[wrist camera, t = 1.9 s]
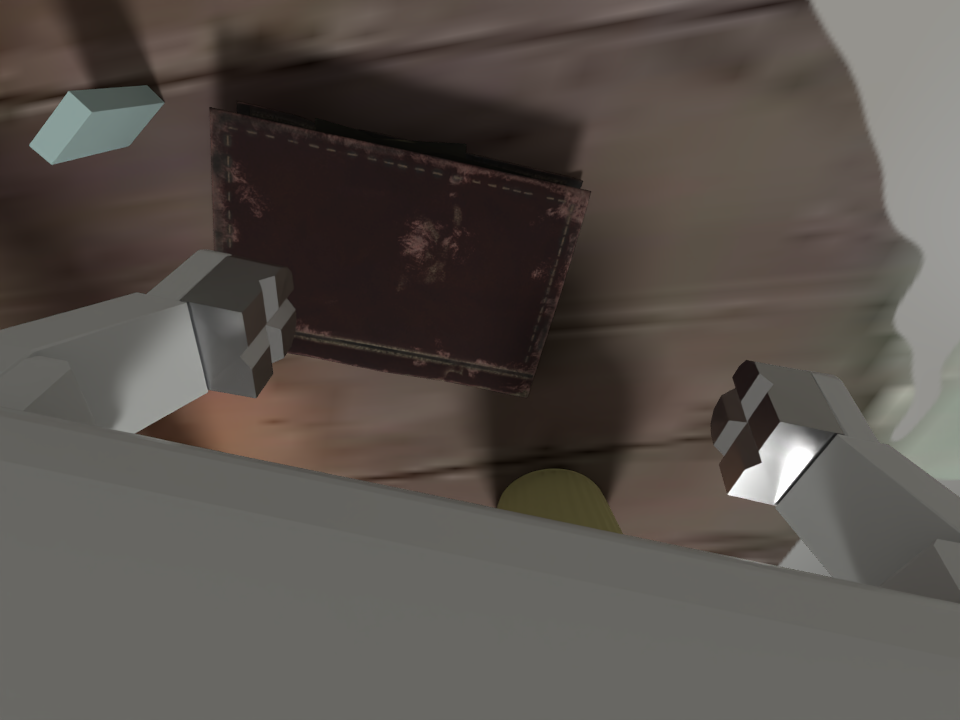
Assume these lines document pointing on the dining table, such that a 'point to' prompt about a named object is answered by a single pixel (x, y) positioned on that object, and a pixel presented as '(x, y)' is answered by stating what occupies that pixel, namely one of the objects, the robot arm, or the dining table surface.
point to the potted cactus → (560, 499)
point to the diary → (398, 244)
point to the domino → (95, 122)
